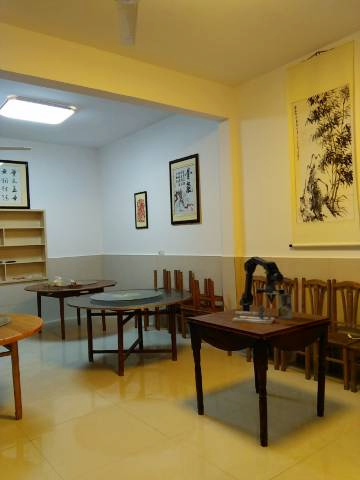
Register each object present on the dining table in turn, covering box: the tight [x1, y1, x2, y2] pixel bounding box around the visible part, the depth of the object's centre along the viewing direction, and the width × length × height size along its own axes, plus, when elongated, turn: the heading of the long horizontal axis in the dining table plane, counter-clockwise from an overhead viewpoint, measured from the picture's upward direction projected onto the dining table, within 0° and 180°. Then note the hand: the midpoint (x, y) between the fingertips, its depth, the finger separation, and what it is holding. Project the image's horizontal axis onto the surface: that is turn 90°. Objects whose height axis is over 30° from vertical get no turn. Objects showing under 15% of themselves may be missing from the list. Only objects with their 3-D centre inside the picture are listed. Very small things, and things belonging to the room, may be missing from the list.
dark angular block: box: [258, 305, 265, 319], centre depth 263 cm, size 5×2×8 cm, turn 155°
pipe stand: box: [232, 310, 275, 325], centre depth 266 cm, size 12×26×6 cm, turn 65°
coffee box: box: [277, 293, 294, 319], centre depth 271 cm, size 9×6×16 cm
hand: (271, 304), depth 260 cm, fingers closed
